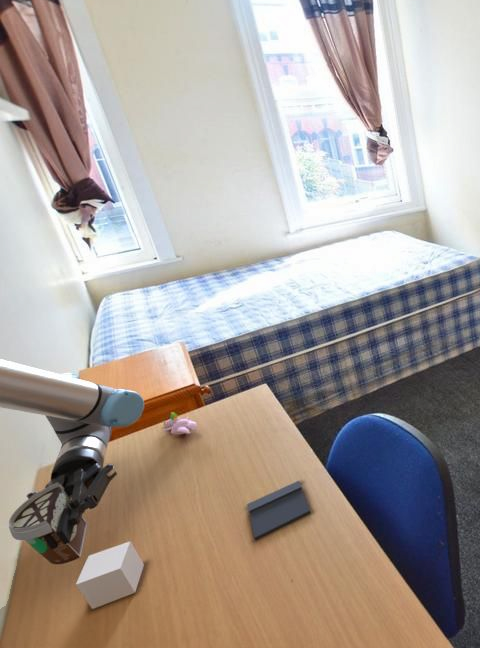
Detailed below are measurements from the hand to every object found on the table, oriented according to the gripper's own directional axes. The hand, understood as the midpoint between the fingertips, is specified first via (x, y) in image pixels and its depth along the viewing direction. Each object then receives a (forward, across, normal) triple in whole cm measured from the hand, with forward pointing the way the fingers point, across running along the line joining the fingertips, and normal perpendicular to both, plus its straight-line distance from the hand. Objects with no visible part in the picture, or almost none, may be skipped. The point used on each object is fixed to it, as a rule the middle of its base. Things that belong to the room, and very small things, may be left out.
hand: (56, 539), depth 77 cm
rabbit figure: (-42, -15, -11) cm, 46 cm away
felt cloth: (+4, -31, -11) cm, 33 cm away
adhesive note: (+4, -5, -11) cm, 13 cm away
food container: (-6, +2, -6) cm, 9 cm away
